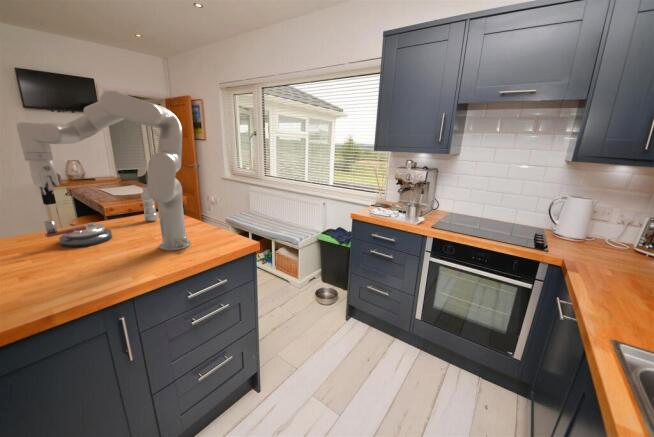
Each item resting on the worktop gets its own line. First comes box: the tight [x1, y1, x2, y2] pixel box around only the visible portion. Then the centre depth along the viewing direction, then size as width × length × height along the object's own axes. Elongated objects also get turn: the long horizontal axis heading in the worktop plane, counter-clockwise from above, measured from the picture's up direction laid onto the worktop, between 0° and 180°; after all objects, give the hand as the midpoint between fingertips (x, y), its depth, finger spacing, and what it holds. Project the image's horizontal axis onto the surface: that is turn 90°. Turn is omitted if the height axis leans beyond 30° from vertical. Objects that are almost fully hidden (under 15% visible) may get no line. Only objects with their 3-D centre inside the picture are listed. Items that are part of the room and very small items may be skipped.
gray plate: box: [58, 228, 113, 249], centre depth 125 cm, size 18×18×3 cm
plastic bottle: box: [140, 185, 159, 222], centre depth 154 cm, size 6×7×20 cm
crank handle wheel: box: [43, 220, 106, 239], centre depth 121 cm, size 14×20×9 cm
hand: (49, 203), depth 107 cm, fingers closed
